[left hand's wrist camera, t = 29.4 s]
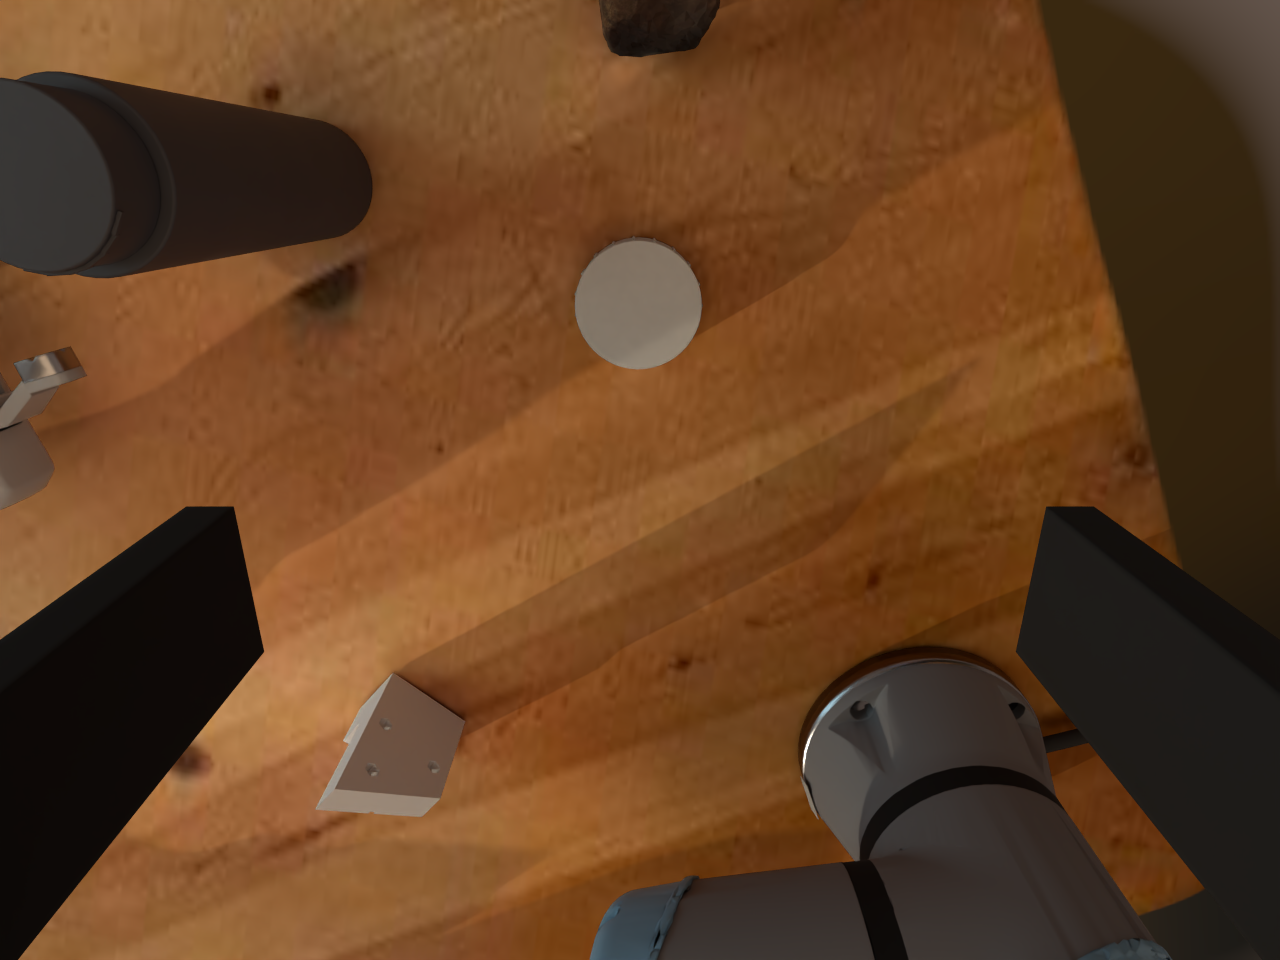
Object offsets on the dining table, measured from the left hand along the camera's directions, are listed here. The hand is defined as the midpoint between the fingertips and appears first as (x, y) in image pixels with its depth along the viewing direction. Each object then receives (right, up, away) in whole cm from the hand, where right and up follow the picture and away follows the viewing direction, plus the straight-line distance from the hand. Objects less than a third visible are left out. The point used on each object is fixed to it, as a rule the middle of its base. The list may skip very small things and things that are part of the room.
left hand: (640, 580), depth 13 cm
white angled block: (-15, -14, +38) cm, 43 cm away
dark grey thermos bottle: (-16, +17, +26) cm, 35 cm away
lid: (0, +10, +26) cm, 28 cm away
